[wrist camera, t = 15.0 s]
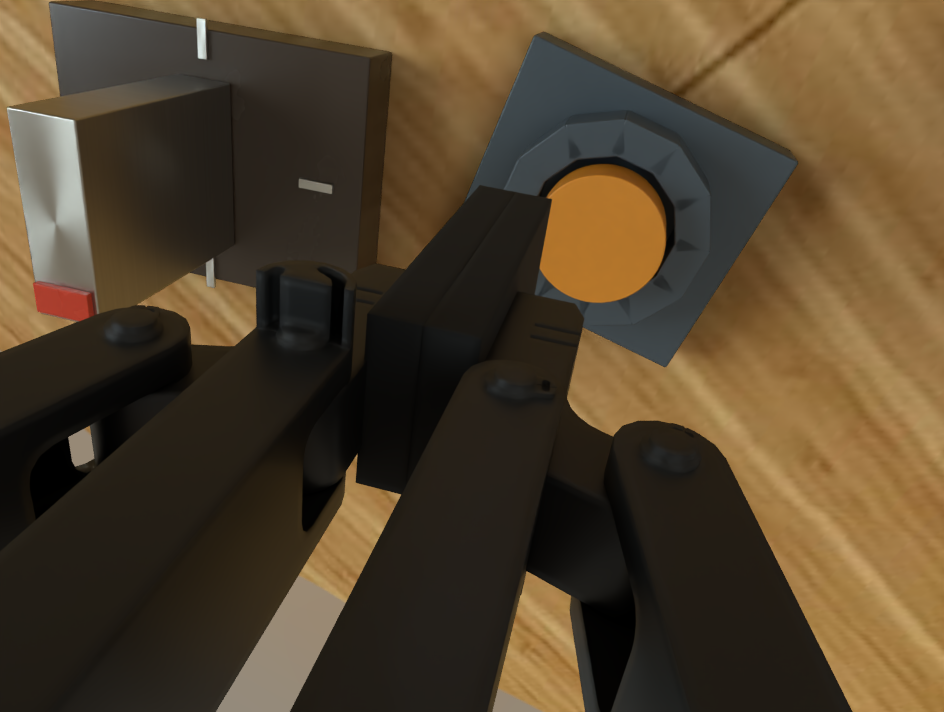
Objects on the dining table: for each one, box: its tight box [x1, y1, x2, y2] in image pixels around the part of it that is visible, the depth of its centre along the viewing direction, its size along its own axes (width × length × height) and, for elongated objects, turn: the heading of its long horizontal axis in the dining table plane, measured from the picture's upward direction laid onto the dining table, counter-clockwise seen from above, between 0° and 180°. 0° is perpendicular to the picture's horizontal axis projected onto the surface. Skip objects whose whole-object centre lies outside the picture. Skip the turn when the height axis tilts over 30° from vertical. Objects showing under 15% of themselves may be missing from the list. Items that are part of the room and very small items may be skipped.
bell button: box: [540, 164, 666, 303], centre depth 26 cm, size 4×4×2 cm
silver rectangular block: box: [7, 74, 234, 322], centre depth 26 cm, size 6×2×9 cm, turn 172°
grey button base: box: [465, 32, 798, 367], centre depth 28 cm, size 10×9×4 cm
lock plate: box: [49, 0, 392, 288], centre depth 31 cm, size 13×11×3 cm
